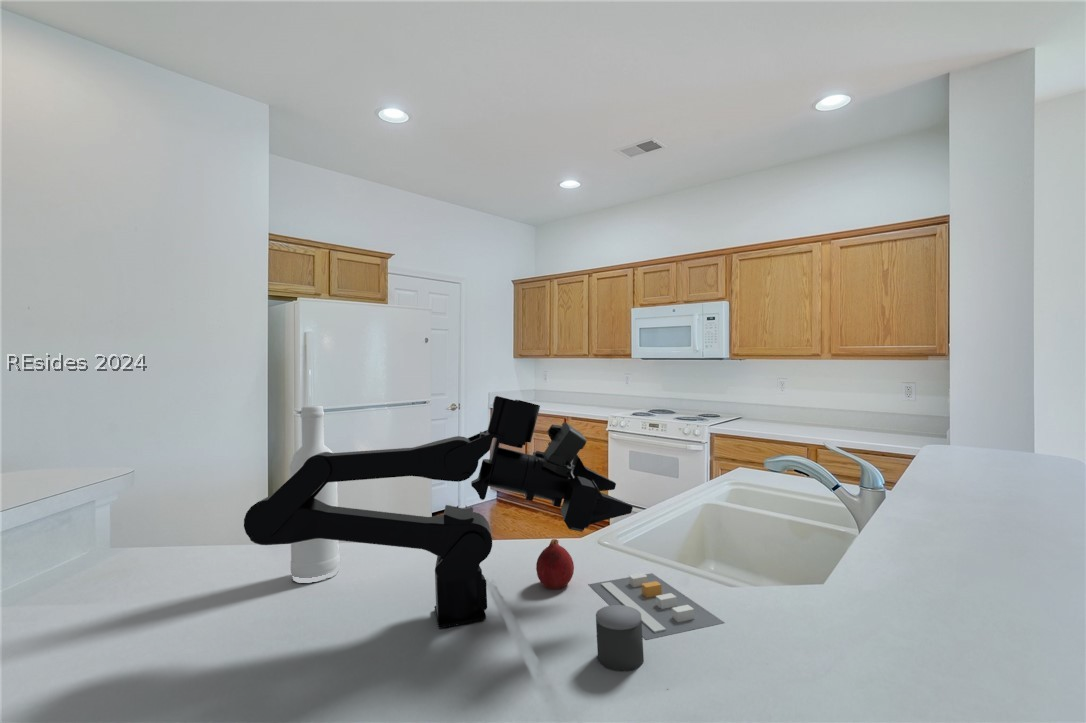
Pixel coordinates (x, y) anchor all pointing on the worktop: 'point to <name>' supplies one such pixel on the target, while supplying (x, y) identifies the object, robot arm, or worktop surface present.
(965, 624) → the worktop surface
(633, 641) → the canister
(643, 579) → the panel
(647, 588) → the block
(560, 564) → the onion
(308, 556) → the bottle
